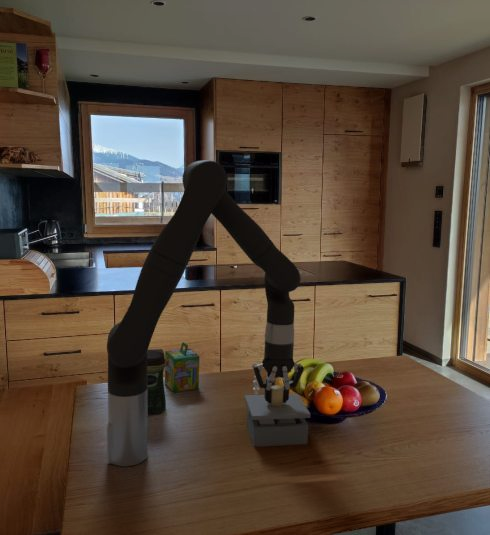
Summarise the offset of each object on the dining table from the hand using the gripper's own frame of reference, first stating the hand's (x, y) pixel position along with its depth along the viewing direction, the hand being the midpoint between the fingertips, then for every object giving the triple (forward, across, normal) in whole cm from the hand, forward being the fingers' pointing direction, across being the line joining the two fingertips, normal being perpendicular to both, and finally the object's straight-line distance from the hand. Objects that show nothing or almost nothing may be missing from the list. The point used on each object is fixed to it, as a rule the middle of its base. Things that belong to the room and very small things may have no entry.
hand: (276, 401), depth 131 cm
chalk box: (+10, -24, +38) cm, 46 cm away
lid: (+2, 0, 0) cm, 2 cm away
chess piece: (+10, -2, +20) cm, 23 cm away
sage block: (+9, +3, 0) cm, 10 cm away
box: (+10, 0, 0) cm, 10 cm away
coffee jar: (+11, -34, +20) cm, 41 cm away
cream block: (+9, -2, 0) cm, 9 cm away
